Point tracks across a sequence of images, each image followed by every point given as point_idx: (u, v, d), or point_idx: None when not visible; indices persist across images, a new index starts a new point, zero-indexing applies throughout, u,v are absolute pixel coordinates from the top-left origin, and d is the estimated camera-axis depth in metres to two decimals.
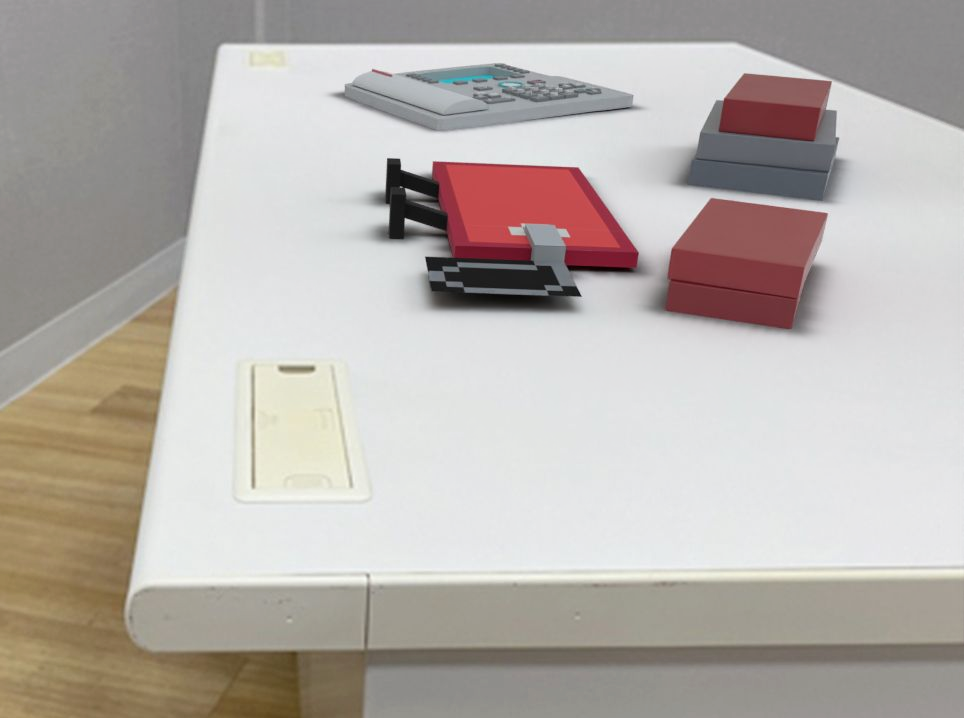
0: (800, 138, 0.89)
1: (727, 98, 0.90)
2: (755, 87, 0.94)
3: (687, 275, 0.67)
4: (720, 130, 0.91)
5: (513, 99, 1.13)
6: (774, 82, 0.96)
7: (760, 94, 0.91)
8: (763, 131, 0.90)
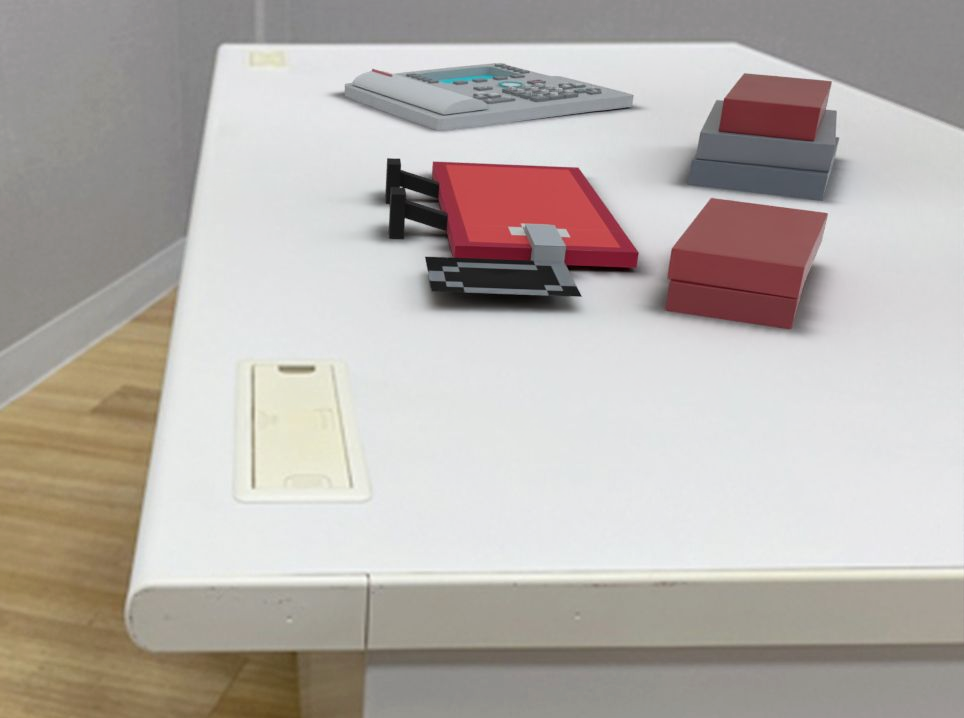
0: (800, 138, 0.89)
1: (727, 98, 0.90)
2: (755, 87, 0.94)
3: (687, 275, 0.67)
4: (720, 130, 0.91)
5: (513, 99, 1.13)
6: (774, 82, 0.96)
7: (760, 94, 0.91)
8: (763, 131, 0.90)
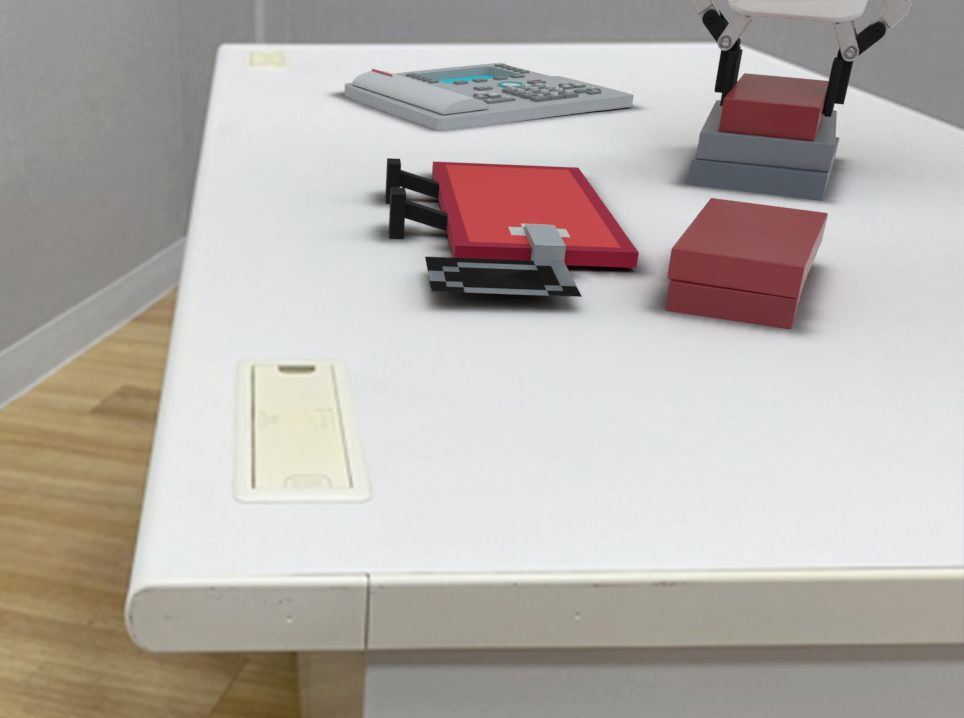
0: (800, 138, 0.89)
1: (727, 98, 0.90)
2: (755, 87, 0.94)
3: (687, 275, 0.67)
4: (720, 130, 0.91)
5: (513, 99, 1.13)
6: (774, 82, 0.96)
7: (760, 94, 0.91)
8: (763, 131, 0.90)
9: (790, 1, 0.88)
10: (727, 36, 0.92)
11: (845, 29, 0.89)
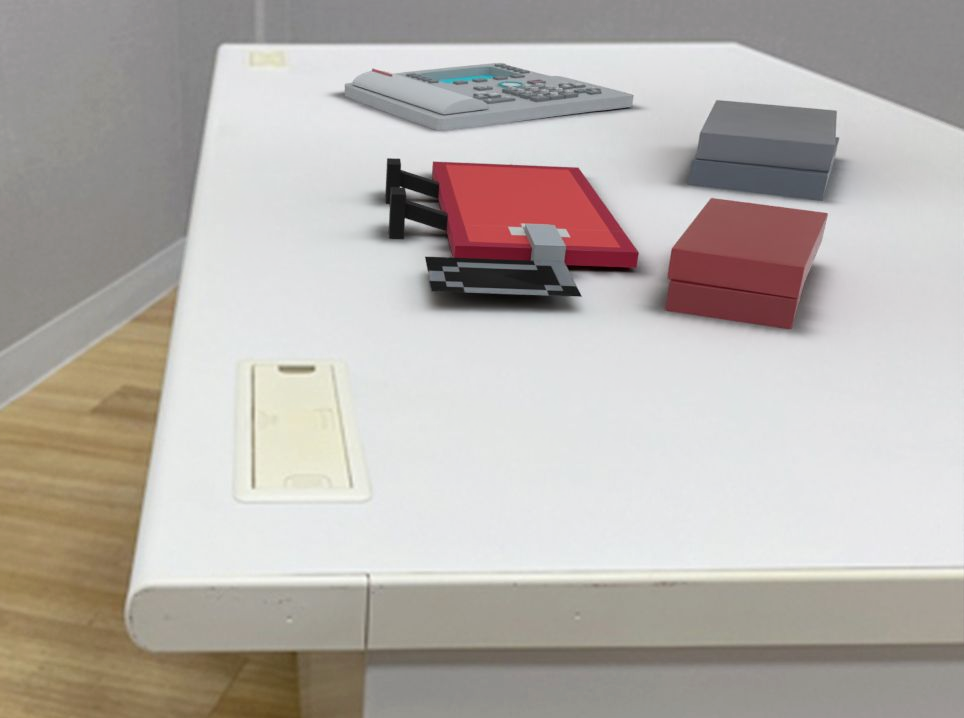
0: None
1: None
2: None
3: (687, 275, 0.67)
4: None
5: (513, 99, 1.13)
6: None
7: None
8: None
9: None
10: None
11: None
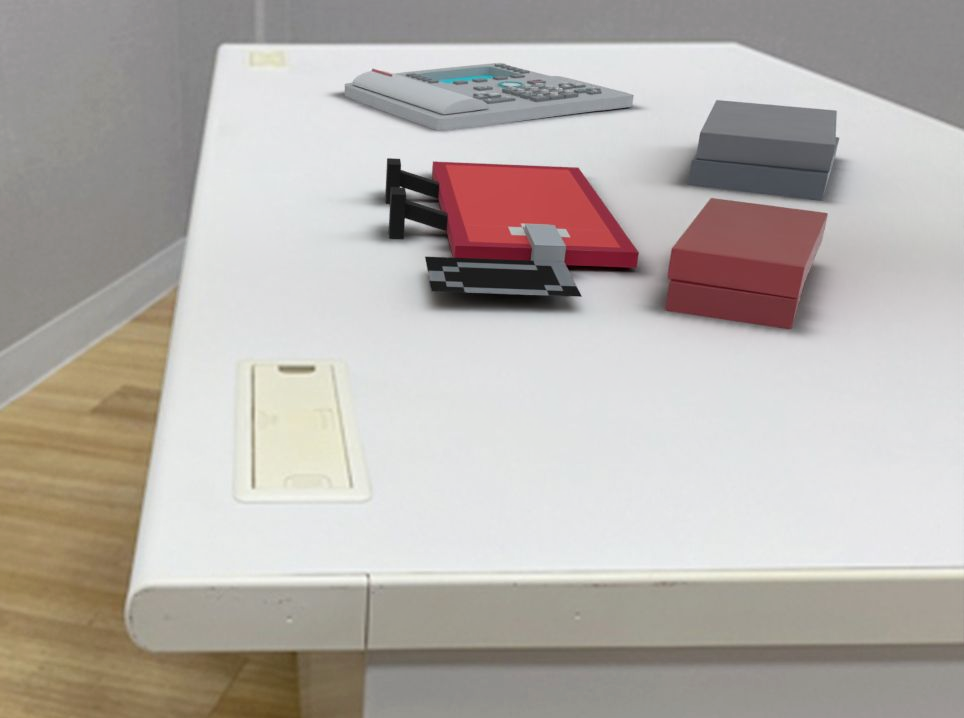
0: None
1: None
2: None
3: (687, 275, 0.67)
4: None
5: (513, 99, 1.13)
6: None
7: None
8: None
9: None
10: None
11: None
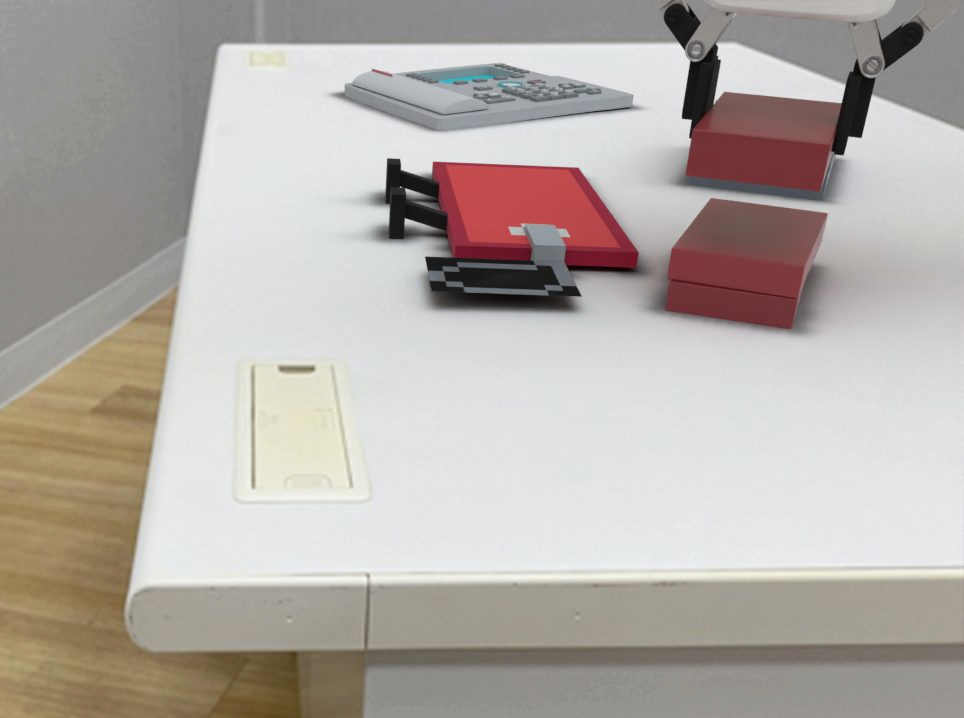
0: (801, 187, 0.63)
1: (697, 129, 0.63)
2: (738, 112, 0.67)
3: (687, 275, 0.67)
4: (688, 174, 0.64)
5: (513, 99, 1.13)
6: (765, 105, 0.69)
7: (744, 123, 0.65)
8: (748, 176, 0.63)
9: None
10: (698, 41, 0.65)
11: (865, 32, 0.62)
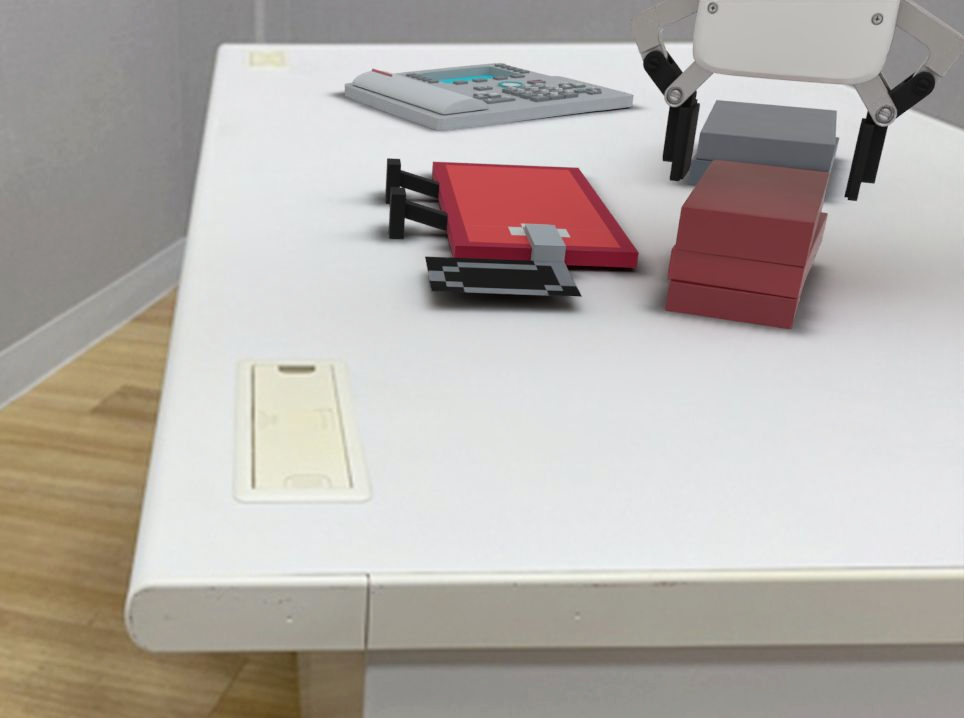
0: (786, 262, 0.65)
1: (686, 206, 0.65)
2: (726, 185, 0.69)
3: (687, 275, 0.67)
4: (677, 248, 0.67)
5: (513, 99, 1.13)
6: (752, 175, 0.71)
7: (732, 198, 0.67)
8: (735, 251, 0.65)
9: (778, 56, 0.64)
10: (678, 88, 0.67)
11: (871, 85, 0.63)
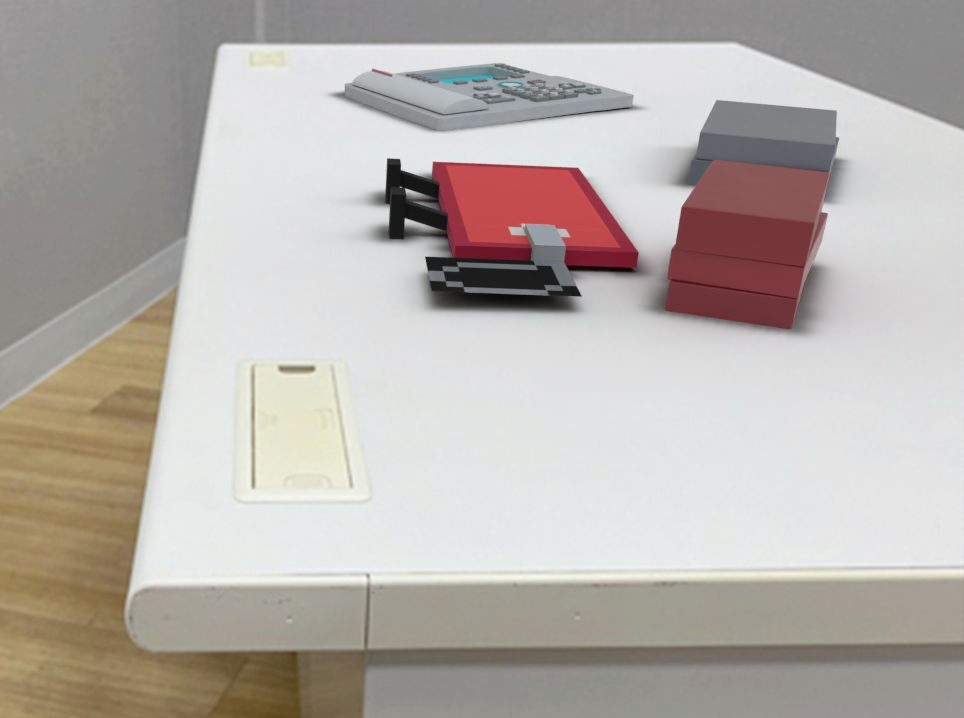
0: (786, 262, 0.65)
1: (686, 206, 0.65)
2: (726, 185, 0.69)
3: (687, 275, 0.67)
4: (677, 248, 0.67)
5: (513, 99, 1.13)
6: (752, 175, 0.71)
7: (732, 198, 0.67)
8: (735, 251, 0.65)
9: None
10: None
11: None
